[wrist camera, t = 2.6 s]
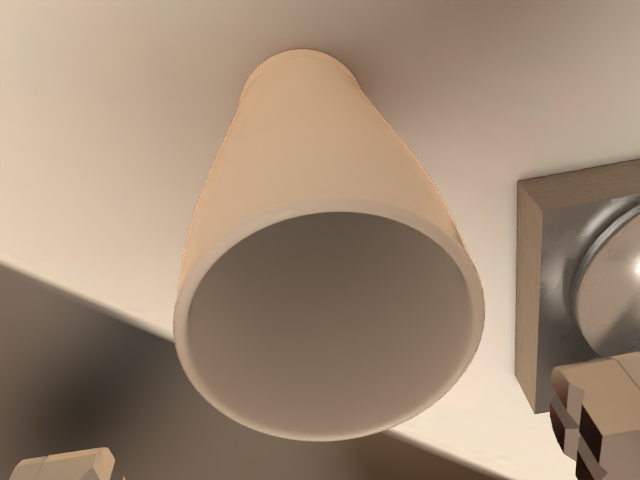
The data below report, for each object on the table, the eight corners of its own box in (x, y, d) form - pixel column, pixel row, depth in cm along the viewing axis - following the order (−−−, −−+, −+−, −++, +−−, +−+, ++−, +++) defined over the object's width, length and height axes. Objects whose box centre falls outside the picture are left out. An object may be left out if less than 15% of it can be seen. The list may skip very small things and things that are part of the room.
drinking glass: (274, -9, 22) (276, 127, 10) (410, 83, 25) (559, 292, 12) (194, 132, 25) (113, 385, 12) (323, 204, 27) (368, 479, 15)
